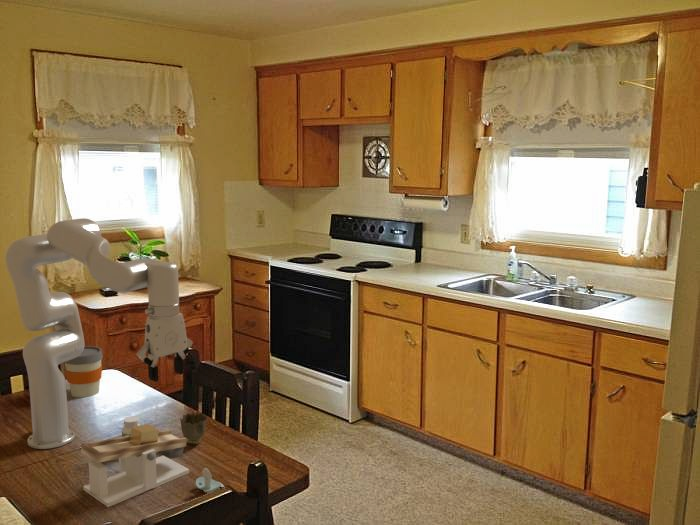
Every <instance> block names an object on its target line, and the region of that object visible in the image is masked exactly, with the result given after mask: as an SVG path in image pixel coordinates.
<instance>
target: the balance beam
mask: <svg viewBox="0 0 700 525" xmlns="http://www.w3.org/2000/svg"><path fill="white" fill-rule="evenodd" d="M129 440H130V436H126V437H122V436H120V437H115V438H108V439H102V440H95V441H89V442H88V441H87V442H82V443H81V448H80V453H81V454H82V455H84V456H86V457H88V458H89V459H91V460H92V461H95V462H97V463H99V462H101V463H102V462H108V461H114V460H119V459H121V458H126V457H131V456H137V455H142V453H143V452H146V451H149V450H151V449H154V450H155V451H156V453H158V454H160V455H161V456H165V457H167V458H169V459H171V460H173V459H175V458H181V457H183V456H184V455H183V454H184V448H186V447H187V443H188V439H187V438H186V437H178V436H176V435H173V434H172V430H171V429H165V430H159V434H158V442H156V443H150V444H144V445H138V446H135V445H134V444H132V443H130V442H129Z"/></svg>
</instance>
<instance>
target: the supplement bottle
mask: <svg viewBox="0 0 700 525" xmlns="http://www.w3.org/2000/svg"><path fill="white" fill-rule="evenodd" d="M123 425H124V426H123V427H121V437H125V436H130V431H131V427H132V426H139V425H140V418H139V417H138V416H128V417H125V418H124V420H123Z"/></svg>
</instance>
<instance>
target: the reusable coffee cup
mask: <svg viewBox="0 0 700 525" xmlns="http://www.w3.org/2000/svg"><path fill="white" fill-rule="evenodd" d="M102 352H103V350H102V348H100V347H99V346H91V345H89V346H88V345H84V350H83V352H82V353H81V355H79V356H78V357H76V358H74V359H71V360H69V361H66V362H63V363H64V364H65V365H64V366H65V367H64V371H65V378H66V381H67V382H68V386H69V390H70V394H71V396H72V397H74V398H88V397H93V396H95V395H98V394H99V392H100V381H101V380H102V374H103V364H102V359H103V358H104V357H103V353H102ZM67 382H66V383H67Z"/></svg>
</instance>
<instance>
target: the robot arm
mask: <svg viewBox="0 0 700 525" xmlns="http://www.w3.org/2000/svg"><path fill="white" fill-rule="evenodd" d="M110 251H111V246H110V242H109V240H108V239H106V238H104V237H103V236H102V231H101V228H100V226H99V225H98V224H97V222H95V221H94V220H92V219H90V218H73V219H66V220H60V221H57V222H55V223H54V224H52V225H51V226H50V227H49V228H48V230H47V233H44V234H37V235H29V236H26V237H22V238H19V239H16V240H14V241H13V242H12V243H10V245H9V246H8V248H7V249H6V253H5V265H6V268H7V272H8V274H9V277H10V278H11V280H12V283H13V287H14V290H15V291H14V292H15V296H16V301H17V305H18V306H17V307H18V309H19V314H20V318H21V322H22V325H23V326H24V328H25V329H26V330H27V331H29V332H39V331H43V330H47V329H51V328H53V327H54V329H55V330H53V331H50V332H46V333H43V334H40V335H37V336H34V337H32V338H31V339H29V340H28V341H27V342H26V343H25V344H24V346H23V348H22V358H23V361H24V364H25V367H26V368H25V369H26V372H27V377H28V378H27V379H28V387H29V389H28V390H29V398H30V400H29V401H30V412H31V413H30V415H31V426H32V434H31V435H29V437H28V438H27V440H26V441H27V445H28V446H29V447H30V448H33V449H36V450H37V449H38V450H46V449H47V450H48V449H56V448H58V447H62V446H65V445H68V443H70V442H72V441H73V440H74V439H75V437H76V433H75V431H74V430H73V429H71V428H69V414H68V412H69V410H68V399H67V398H68V397H67V396H68V395H67V385H66V384H67V382H66V377H65V376H64V374H63V372H62V371H61V370H60V369H59V365H60V364H62V363H64V362H66V361H69V360H71V359H74V358H76V357H78V356H79V355H81V353H82V352H83V350H84V346H85V337H84V332H83V331H84V330H83V326H82V321H81V318H80V312H79V308H78V304H77V302H76V301H75V300H74V298H73V297H72V296H71V295H70V294H68V293H67V292H64V291H57V292H52V293H50V288H49V283H48V280H47V278H46V276H45V275H44V273H43V272H42V271H41V270H40V269H39V268H38V267H40V266H46V265H52V264H57V263H62V262H67V261H69V260H72V259H73V260H76V261H78V262H79V263H81V264H83V265H85V266H86V268H87V272H88V273H89V275H90V276H91V278H92V279H93V280H94V282H96V283H98V284H99V285H101V286H103V287H104V288H107V289H109V290H111V291H113V292H116V293H123V294H125V293H129V292H133V291H136V290H140V289H145V288H147V295H148V297H147V299H148V306H147V307H148V308H147V309H146V308H145V310H144V313H145V314H146V315H148V316H147V317H146V320H145V328H144V330H145V331H144V344H143V345H142V347H141V348H140V349H139V350H138V351H137V353H136V356H137V357H138V358H139V359H140V360H141V361H142V362H143V363H144V364H146V365H147V369H148V373H147V374H148V378H149V380H151V381H153V382H155V383H156V382H158V381H159V367H158V366H157V363H158V360H159V358H162V357H167V356H169V355H175V357H174V358H173V366H174V367H173V369H174V373H175V374H180V375H184V369H185V365H184V360H185V359H186V355H187V354H188V353H189V351H190V348H191V347H192V345H193V343H194V342H193V340H192V339H190V338H188V336H187V330H186V329H187V328H186V323H185V319H184V315H183V313H182V312H180V290H179V268H178V264H176V263H175V262H171V261H159V260H156V259H153V258H152V259H151V258H146V257H145V258H143V257H142V258H139V259H134V260H133V259H132V260H128V261H124V262H118V261H115V260H114V259H111V258H109V255H110ZM146 354H147V355H148V356H147V355H146Z"/></svg>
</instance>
